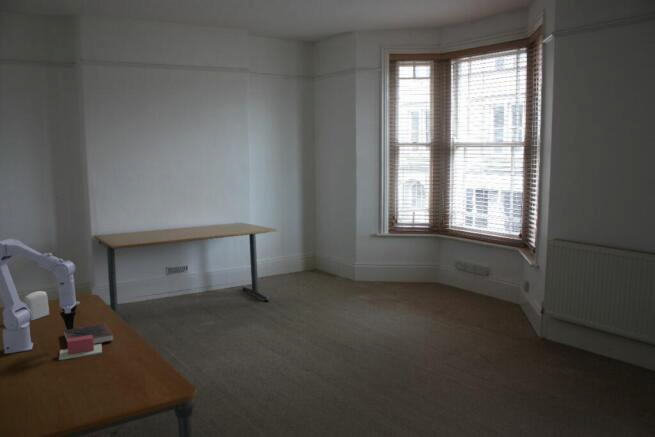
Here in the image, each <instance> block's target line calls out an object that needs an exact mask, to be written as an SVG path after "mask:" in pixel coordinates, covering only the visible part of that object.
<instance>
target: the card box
mask: <svg viewBox="0 0 655 437" xmlns="http://www.w3.org/2000/svg"><path fill="white" fill-rule="evenodd" d="M66 344H67V349H68V355H70V354H76V353H82V352H88V351H94V345H95V344H93V335H88V336H81V337H75V338H68V339H67V340H66Z"/></svg>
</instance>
